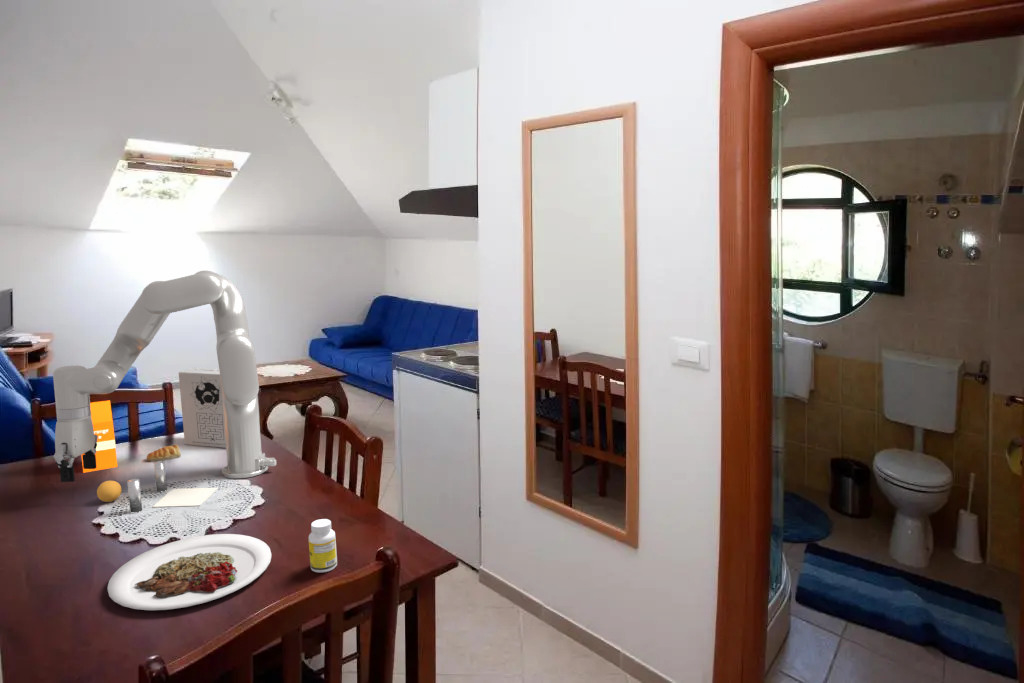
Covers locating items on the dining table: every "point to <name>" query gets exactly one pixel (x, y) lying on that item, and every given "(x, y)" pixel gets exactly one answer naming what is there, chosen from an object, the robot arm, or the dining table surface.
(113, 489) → the ball
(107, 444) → the orange juice
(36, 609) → the dining table surface
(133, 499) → the post left
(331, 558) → the supplement bottle
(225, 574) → the plated food
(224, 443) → the cereal box
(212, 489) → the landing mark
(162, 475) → the post right
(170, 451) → the pastry
